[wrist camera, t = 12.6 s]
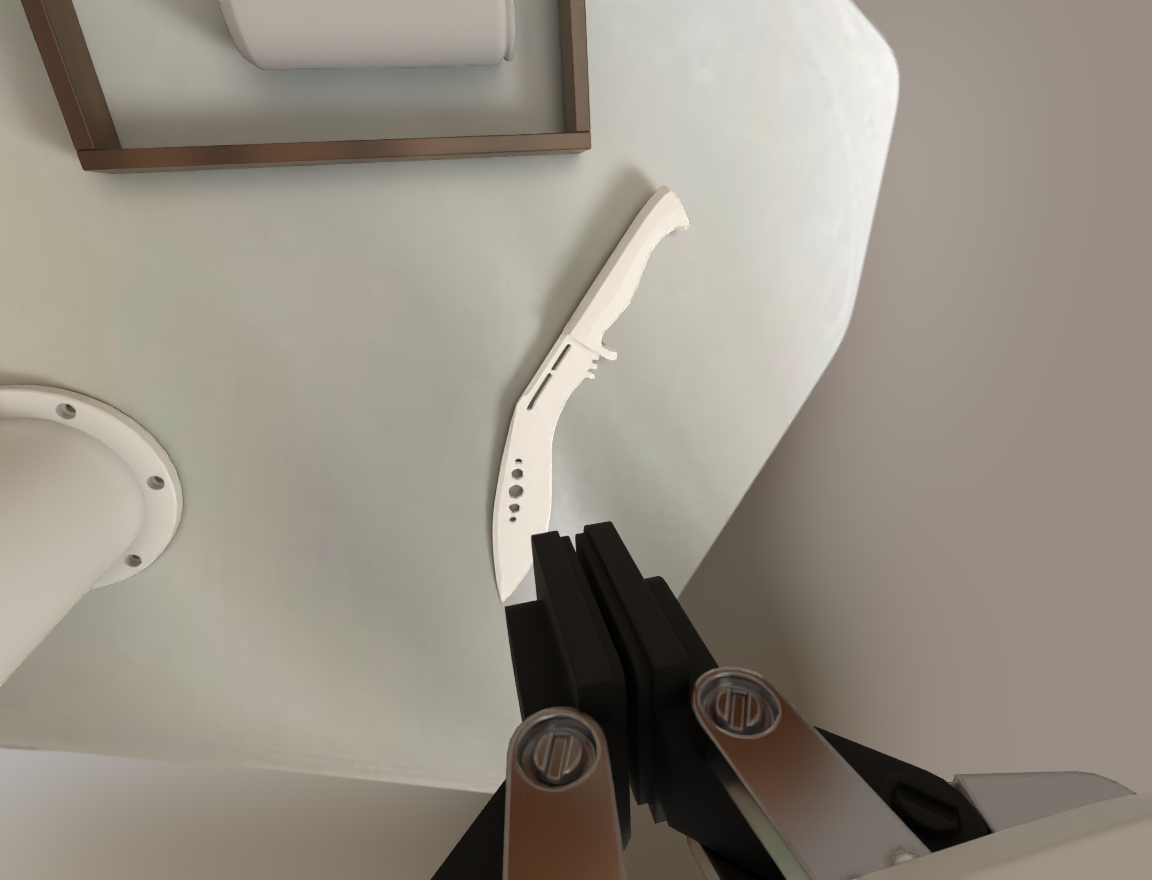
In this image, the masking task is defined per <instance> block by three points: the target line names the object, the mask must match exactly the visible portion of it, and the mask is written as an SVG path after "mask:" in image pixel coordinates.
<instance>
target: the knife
mask: <svg viewBox="0 0 1152 880" xmlns="http://www.w3.org/2000/svg"><path fill="white" fill-rule="evenodd" d="M689 226H690V223H689V220H688V217H687V214H686V212H685V210H684V208H683V206H682V203H681V202H680V200H679V198H678V197H677V195H676V194H675V193H674V192H673V191H672V190H671V189H670V188H669V187H668V186H666V185H662V186H661V187H660V188H659V189H658V190H657V191H656V192H655V193H654V194H653V196H652V197H651V198H650V199H649V200H648V202H647V203H646V204H645V205H644V207H643V208H642V209H641V211H640V212H639V213H638V215H637V216H636V218H635V219H634V221H633V222H632V224H631V225H630V227H629V228H628V230H627V231H626V233H625V234H624V236H623V237H622V239H621V241H620V242H619V244H618V245H617V247H616V248H615V250H614V251H613V253H612V255H611V256H610V258H609V259H608V261H607V262H606V264H605V265H604V267H603V269H602V270H601V272H600V273H599V275H598V276H597V278H596V279H595V281H594V283H593V284H592V286H591V287H590V289H589V290H588V292H587V293H586V295H585V297H584V298H583V300H582V301H581V303H580V304H579V306H578V308H577V309H576V311H575V312H574V314H573V315H572V317H571V318H570V320H569V321H568V323H567V324H566V325H565V327H564V329H563V332H562V334H561V335H560V337H559V339H558V340H557V342H556V343H555V345H554V346H553V348H552V349H551V351H550V353H549V354H548V356H547V357H546V359H545V360H544V362H543V363H542V365H541V367H540V368H539V370H538V371H537V373H536V374H535V376H534V377H533V379H532V381H531V382H530V384H529V385H528V387H527V388H526V390H525V391H524V393H523V394H522V395H521V396H520V398H519V400H518V401H517V403H516V407H515V411H514V414H513V417H512V420H511V423H510V427H509V432H508V436H507V440H506V445H505V449H504V453H503V458H502V462H501V468H500V473H499V478H498V484H497V490H496V497H495V504H494V512H493V529H492V532H493V554H494V565H495V573H496V580H497V585H498V591H499V595H500V599H501V603H502V602H503V601H505V600H506V599H507V598H508V597H509V595H510V594H511V593H512V592H513V591H514V590H515V588H516V587H517V586H518V584H519V583H520V582H521V580H522V579H523V578H524V576H525V575H526V573H527V572H528V570H529V568H530V567H531V565H532V564H533V556H532V546H531V535H534V534H540V533H546V532H547V529H548V524H549V518H550V512H551V498H552V465H551V454H552V442H553V435H554V431H555V427H556V423H557V420H558V417H559V415H560V413H561V410H562V408H563V406H564V405H565V403H566V401H567V399H568V398H569V396H570V395H571V393H572V392H573V390H574V389H575V388H576V387H577V386H578V385H579V384H580V383H581V382H582V380H583V378H586V377H587V378H592V379H594V377H595V373H593V372H589V371H587V370H588V369H589V368H591V369H597V364H596V363H593V362H592V360H593V359H594V360H599V357H600V355H601V356H602V357H604V358H606V359H608V360H616V358H617V350H616V349H615V348H613V347H611V346H605V345H603V344H601V338H602V336H603V333H604V331H605V330H606V329H607V328H608V327H609V326H610V325H611V324H612V323H613V322H614V321H615V320H616V319H617V318H618V317H619V316H620V314H621V313H622V312H623V311H624V310H625V308H626V307H627V306H628V305H629V303H630V301H631V299H632V297H633V295H634V293H635V291H636V289H637V287H638V284H639V282H640V279H641V276H642V274H643V271H644V268H645V265H646V263H647V260H648V257H649V255H650V254H651V252H652V250H653V249H654V247H655V246H656V245H657V244H658V243H659V242H660V241H661V240H662V239H663V238H664V237H665V236H666V235H667V234H669V233H670V232H671V231H673V230H677V229H679V230H686V229H688V228H689ZM567 344H570V346H569V348H568V349H567V351H566V352H565V354H564V356H563V357H562V359H561V360H560V362H559V363H558V365H557V366H556V368H555V369H554V370H552V367H553V365H554V364H555V362H556V361H557V359H558V357H559V356H560V354H561V353H562V351H563V350H564V348H565V346H566V345H567ZM548 373H550V374H551V376H550V378H549V379H548V381H547V382H546V384H545V385H544V387H543V388H542V390H541V391H540V393H539V395H538V396H537V398H536V400H535V401H534V403H533V405H532V407H531V409H527V407H528V405H529V403H530V401H531V400H532V398H533V397H534V395H535V393H536V392H537V390H538V389H539V387H540V385H541V384H542V382H543V381H544V379H545V378H546V376H547V375H548ZM518 458H519V459H521V461H522V462H515V460H516V459H518ZM515 469H520V470H522V471H523V476H521V477H518V478H515V477H513V476H512V471H513V470H515ZM516 484H517V485H519V486H521V487H522V488H523V491H522V493H521V495H519V496H517V497H514V496H510V495H509V492H508V491H509V489H510V487H511V486H514V485H516ZM514 503H516V504H518V505H519V510H517V511H514V512H512V511H511V510H510V509H509V505H511V504H514ZM511 517H515V518H516V520H514V521H510V518H511Z"/></svg>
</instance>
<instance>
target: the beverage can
mask: <svg viewBox="0 0 1152 880" xmlns="http://www.w3.org/2000/svg"><path fill="white" fill-rule="evenodd" d="M218 2H219V5H220V8H221V11H222V14H223V17H224V20H225V22H226V25H227V28H228V30H229V32H230V35H231V37H232V39H233V41H234V43H235V45H236V47H237V49H238V51H239V52H240V54H241V55H242V56H243V58H245V59H246V60H247V61H249V62H250V63H252V64H253V65H255V66H257V67H258V68H260V69H263V70H275V69H320V68H415V67H448V66H482V65H497V64H499V62H500V61H501V60H502V58H504V59H505V60H506V61H511V60H512V58H513V53H514V41H515V21H514V0H218Z"/></svg>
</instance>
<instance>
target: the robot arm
mask: <svg viewBox="0 0 1152 880" xmlns="http://www.w3.org/2000/svg"><path fill="white" fill-rule="evenodd" d="M71 406H72V407H73V408H74V409H73V408H72V407H71ZM159 477H160V478H162V479H160V478H159ZM182 508H183V500H182V487H181V484H180V481H179V478H178V475H177V472H176V469H175V467H174V466H173V464H172V462H171V460H170V459H169V457H168V455H167V453H166V452H165V451H164V449H163V448H162V447H161V446H160V445H159V443H158V442H157V441H156V440H155V439H154V438H153V436H152V435H151V434H150V433H148V432H147V431H146V430H145V429H144V428H142V427H141V426H140V425H139V424H138V423H136V422H135V421H134V420H133V419H131V418H130V417H128V416H126V415H125V414H123V413H121V412H120V411H118V410H116V409H115V408H113V407H112V406H110V405H107V404H105V403H103V402H100V401H98V400H96V399H93V398H91V397H89V396H86V395H83V394H79V393H75V392H72V391H68V390H64V389H61V388H55V387H47V386H39V385H2V386H0V686H1V685H2V684H3V683H4V682H5V681H6V680H7V679H8V678H9V677H10V676H11V674H12V673H13V672H14V671H15V670H16V669H17V668H18V667H19V666H20V665H21V664H22V662H23V661H24V660H25V659H26V658H27V657H28V656H29V655H30V654H31V653H32V652H33V650H34V649H35V648H36V647H37V646H38V645H39V644H40V643H41V642H42V641H43V640H44V639H45V637H46V636H47V635H48V634H49V633H50V632H51V631H52V630H53V629H54V628H55V627H56V625H57V624H58V623H59V622H60V621H61V620H62V619H63V618H64V617H65V616H66V615H67V613H68V612H69V611H70V610H71V609H72V608H73V607H74V606H75V605H76V604H77V603H78V602H79V600H80V599H81V598H82V597H83V596H84V595H85V594H86V593H87V592H88V591H89V590H91V589H95V588H99V587H104V586H108V585H112V584H115V583H117V582H119V581H122V580H124V579H127V578H129V577H131V576H133V575H135V574H136V573H138V572H139V571H141V570H142V569H144V568H145V567H147V566H149V565H150V564H151V563H152V562H153V561H154V560H155V559H156V558H157V557H158V556H159V555H160V554H161V553H162V552H163V550H164V549H165V548H166V546H167V545H168V544H169V542H170V541H171V540H172V538H173V536H174V534H175V532H176V530H177V528H178V525H179V523H180V519H181V514H182ZM575 542H576V552H575V549H574V547H573V545H572V542H571V540H570V537H569V536H563V537H560V535H559V533H558V531H551V532H546V533H540V534H534V535H531V546H532V556H533V565H534V575H535V584H536V594H537V600H536V601H531V602H526V603H521V604H516V605H511V606H506V607H505V614H506V622H507V629H508V637H509V644H510V651H511V657H512V664H513V670H514V676H515V683H516V688H517V694H518V700H519V706H520V712H521V718H522V723H521V724H520V725H519V726H518V727H517V729H516V730H515V732H514V734H513V736H512V737H511V739H510V742H509V747H508V752H507V769H506V779H505V781H504V782H503V783H502V785H501V786H500V787H499V789H498V790H497V791H496V793H495V794H494V795H493V797H492V798H491V800H490V801H489V802H488V803H487V805H486V806H485V807H484V809H483V810H482V811H481V813H480V814H479V815H478V817H477V818H476V819H475V821H474V822H473V823H472V825H471V826H470V827H469V829H468V830H467V832H466V833H465V834H464V835H463V837H462V838H461V840H460V841H459V842H458V844H457V845H456V846H455V848H454V849H453V850H452V852H451V853H450V854H449V856H448V857H447V858H446V860H445V861H444V862H443V864H442V865H441V866H440V868H439V869H438V871H437V872H436V873H435V875H434V876H433V877H432V879H431V880H628V879H627V872H626V865H625V859H624V850H625V848H626V846H627V844H628V842H629V840H630V838H631V825H630V790H629V783H630V786H631V789H632V792H633V795H634V797H635V800H636V802H637V804H638V805H642V804H645V803H648V805H649V808H650V811H651V814H652V817H653V819H654V822H655V823H660V822H663V821H667V822H668V825H669V826H670V827H672V828H673V829H675V830H677V831H679V832H681V833H682V834H684V835H686V836H687V842H688V844H689V847H690V849H691V852H692V855H693V856H694V858H695V860H696V862H697V864H698V865H699V867H700V869H701V871H702V873H703V874H704V876H705V878H706V879H707V880H1152V793H1145V794H1136V793H1134V792H1133V791H1131V790H1129V789H1128V788H1126V787H1124V786H1123V785H1121V784H1119V783H1118V782H1116V781H1113V780H1110V779H1108V778H1105V777H1103V776H1100V775H1097V774H1093V773H1086V772H1078V771H1066V772H1029V773H992V774H957V775H955V777H954V780H953V782H946V781H945V780H944V779H942V778H940V777H938V776H936V775H934V774H932V773H930V772H928V771H926V770H923V769H921V768H918V767H916V766H914V765H911V764H909V763H906V762H903V761H901V760H898V759H896V758H893V757H891V756H888V755H886V754H883V753H881V752H878V751H876V750H873V749H871V748H868V747H866V746H863V745H861V744H858V743H856V742H853V741H851V740H848V739H845V738H843V737H840V736H838V735H835V734H833V733H830V732H828V731H825V730H823V729H820V728H818V727H815V726H813V725H812V724H811V723H810V722H809V721H808V720H807V719H806V718H805V717H804V716H803V715H802V713H801V712H800V711H799V710H798V709H797V708H796V707H795V706H794V705H793V704H792V703H791V702H790V701H789V700H788V699H787V698H786V696H785V695H784V694H783V693H782V692H781V691H780V690H779V689H778V688H777V687H776V686H775V685H774V684H772V683H771V682H770V681H769V680H768V679H766V678H765V677H763V676H762V675H759V674H758V673H755V672H754V671H751V670H747V669H743V668H740V667H720V668H719V666H718V665H717V663H716V662H715V660H714V658H713V657H712V655H711V654H710V652H709V650H708V649H707V647H706V646H705V644H704V643H703V641H702V639H701V638H700V636H699V635H698V633H697V631H696V630H695V628H694V627H693V625H692V623H691V622H690V620H689V618H688V617H687V615H686V614H685V612H684V610H683V609H682V607H681V606H680V604H679V602H678V601H677V599H676V598H675V596H674V594H673V593H672V591H671V589H670V588H669V586H668V585H667V583H666V582H665V580H664V579H663V578H662V577H660V576H656V577H651V578H646V579H644V578H643V576H642V575H641V573H640V571H639V569H638V568H637V566H636V564H635V562H634V561H633V559H632V557H631V555H630V554H629V552H628V550H627V548H626V547H625V545H624V543H623V541H622V540H621V538H620V536H619V534H618V533H617V531H616V529H615V527H614V525H613V524H612V522H610V521H608V522H602V523H597V524H591V525H585V526H584V533H580V534H576V536H575Z"/></svg>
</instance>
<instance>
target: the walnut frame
mask: <svg viewBox="0 0 1152 880" xmlns="http://www.w3.org/2000/svg"><path fill="white" fill-rule="evenodd" d="M21 2H22V5H23V8H24V11H25V13H26V16H27V19H28V21H29V24H30V27H31V30H32V32H33V35H34V38H35V40H36V43H37V46H38V49H39V51H40V54H41V57H42V59H43V62H44V65H45V68H46V70H47V73H48V76H49V78H50V81H51V84H52V87H53V89H54V92H55V95H56V97H57V100H58V103H59V106H60V108H61V111H62V114H63V117H64V119H65V122H66V125H67V127H68V130H69V133H70V136H71V138H72V141H73V144H74V146H75V149H76V150H78V151H77V155H78V157H79V160H80V163H81V166H82V168H83V170H85V171H92V172H101V173H109V174H124V173H146V172H169V171H192V170H214V169H237V168H260V167H282V166H305V165H327V164H350V163H373V162H395V161H418V160H441V159H463V158H486V157H509V156H531V155H554V154H577V153H582V152H584V151H586V150H589V149H591V133H590V108H589V83H588V59H587V34H586V10H585V0H558V5H559V23H560V41H561V58H562V76H563V94H564V111H565V129H566V133H545V134H518V135H490V136H463V137H436V138H409V139H381V140H354V141H327V142H299V143H272V144H245V145H218V146H190V147H163V148H136V149H121V146H120V143H119V140H118V137H117V134H116V131H115V128H114V125H113V122H112V119H111V116H110V114H109V111H108V108H107V105H106V102H105V99H104V96H103V93H102V90H101V87H100V84H99V81H98V78H97V75H96V72H95V69H94V66H93V63H92V60H91V57H90V54H89V52H88V49H87V46H86V43H85V40H84V37H83V34H82V31H81V28H80V25H79V22H78V19H77V16H76V13H75V10H74V7H73V4H72V1H71V0H21Z"/></svg>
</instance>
